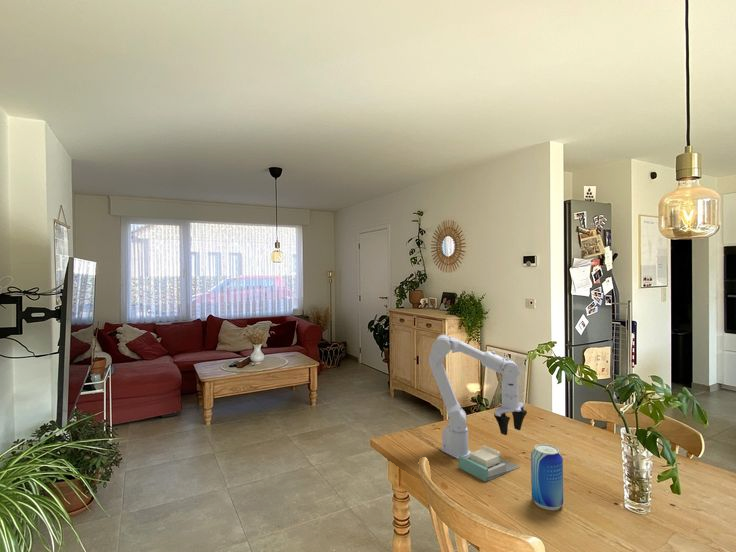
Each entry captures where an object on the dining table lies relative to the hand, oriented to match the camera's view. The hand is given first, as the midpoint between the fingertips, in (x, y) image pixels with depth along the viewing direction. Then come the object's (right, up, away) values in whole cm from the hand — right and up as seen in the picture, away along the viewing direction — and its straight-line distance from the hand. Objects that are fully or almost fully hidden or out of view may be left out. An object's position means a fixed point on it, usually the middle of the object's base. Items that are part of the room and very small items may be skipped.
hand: (510, 431), depth 145 cm
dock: (-10, -10, -7) cm, 16 cm away
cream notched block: (-12, -8, -8) cm, 16 cm away
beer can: (0, -10, -29) cm, 31 cm away
